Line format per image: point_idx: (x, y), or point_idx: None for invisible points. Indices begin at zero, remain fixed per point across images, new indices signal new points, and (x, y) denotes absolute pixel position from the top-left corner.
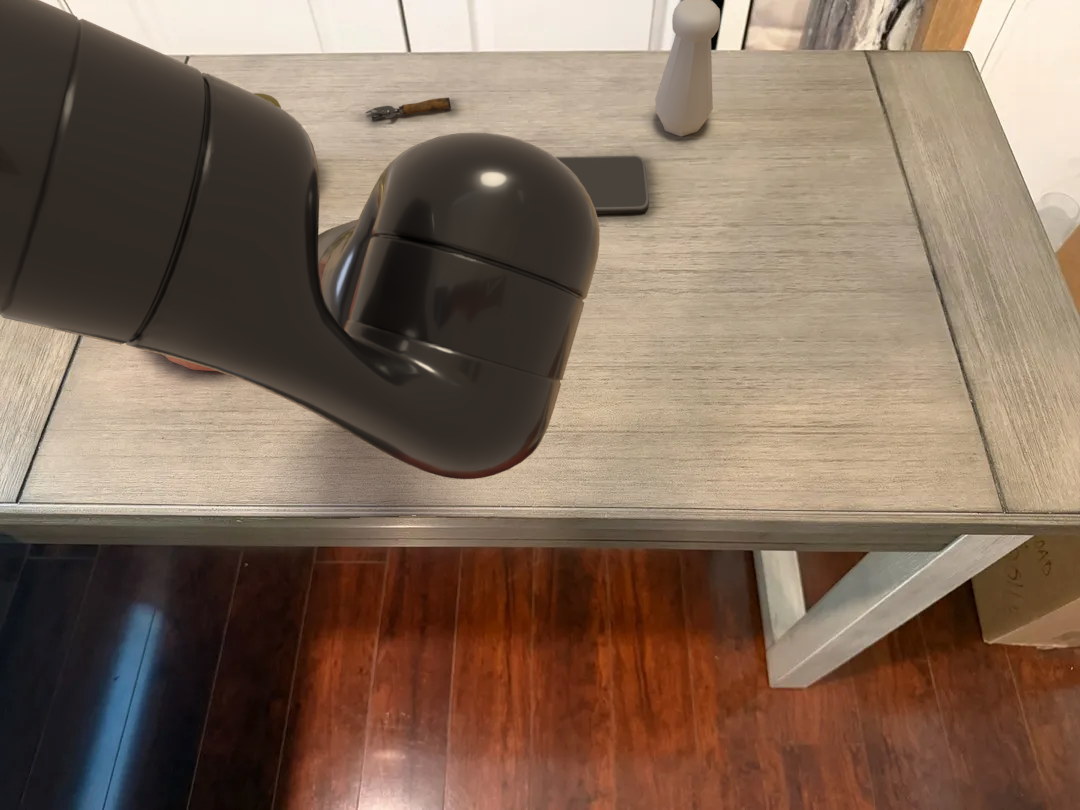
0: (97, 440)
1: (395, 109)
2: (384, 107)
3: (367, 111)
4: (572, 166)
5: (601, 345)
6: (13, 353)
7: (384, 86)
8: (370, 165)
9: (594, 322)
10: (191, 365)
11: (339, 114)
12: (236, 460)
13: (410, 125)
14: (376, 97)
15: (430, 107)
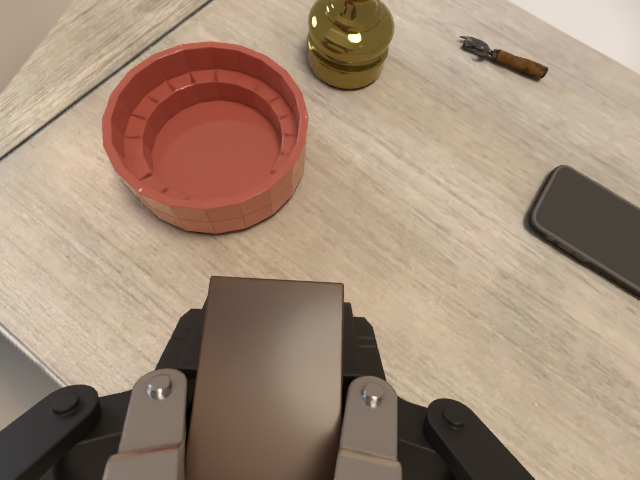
0: (14, 216)
1: (489, 49)
2: (480, 41)
3: (462, 36)
4: (637, 221)
5: (559, 471)
6: (19, 77)
7: (490, 21)
8: (433, 91)
9: (566, 432)
10: (139, 199)
11: (435, 24)
12: (110, 334)
13: (492, 73)
14: (477, 27)
15: (524, 67)
